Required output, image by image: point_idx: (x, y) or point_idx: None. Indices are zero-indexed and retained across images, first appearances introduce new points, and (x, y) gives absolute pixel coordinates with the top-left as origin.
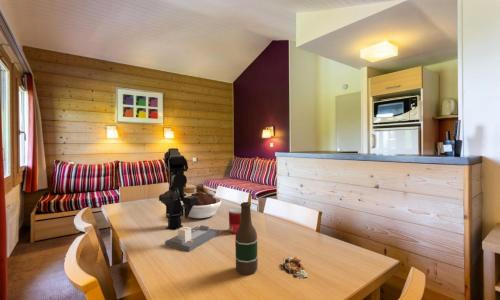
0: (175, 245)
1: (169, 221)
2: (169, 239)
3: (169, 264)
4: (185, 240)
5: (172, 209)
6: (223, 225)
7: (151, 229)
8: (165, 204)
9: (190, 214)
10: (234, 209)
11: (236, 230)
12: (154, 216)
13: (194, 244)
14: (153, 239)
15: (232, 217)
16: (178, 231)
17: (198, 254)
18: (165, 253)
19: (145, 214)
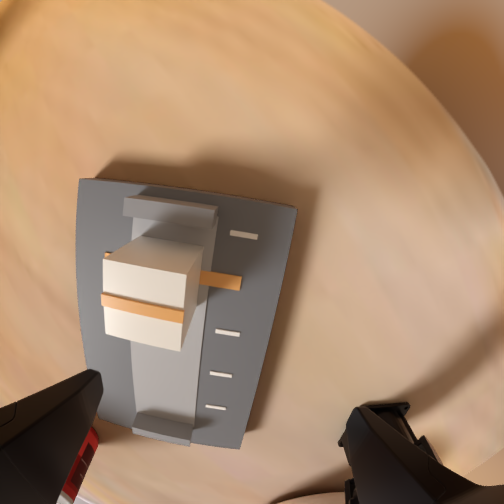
0: (195, 191)
1: (403, 431)
2: (284, 246)
3: (120, 27)
4: (136, 239)
5: (361, 486)
6: (162, 472)
7: (461, 366)
8: (482, 494)
9: (337, 501)
10: (62, 500)
11: None
12: (470, 440)
13: (78, 227)
14: (413, 272)
15: None
16: (187, 267)
17: (44, 166)
18: (212, 103)
19: (493, 432)
